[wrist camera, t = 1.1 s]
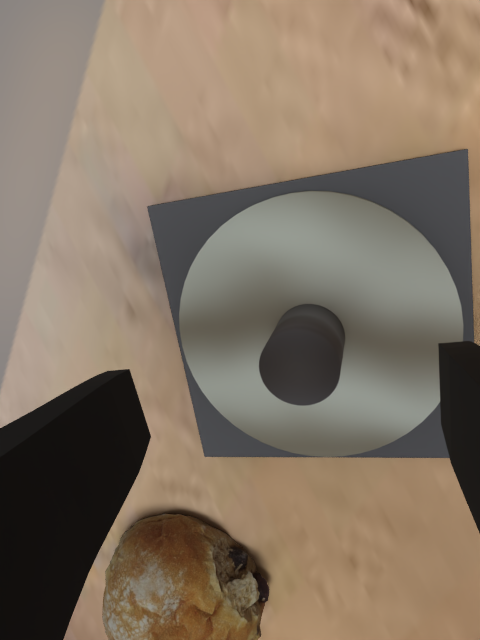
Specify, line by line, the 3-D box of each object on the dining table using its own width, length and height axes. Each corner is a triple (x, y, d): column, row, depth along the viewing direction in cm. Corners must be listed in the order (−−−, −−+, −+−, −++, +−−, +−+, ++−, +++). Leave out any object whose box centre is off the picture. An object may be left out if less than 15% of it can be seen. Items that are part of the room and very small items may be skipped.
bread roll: (167, 462, 32) (62, 527, 27) (287, 539, 26) (183, 645, 20) (171, 568, 36) (78, 646, 30) (278, 658, 30) (187, 778, 24)
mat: (475, 451, 22) (477, 457, 22) (207, 451, 27) (204, 456, 26) (465, 149, 18) (468, 148, 18) (151, 205, 23) (147, 206, 22)
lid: (466, 449, 22) (486, 512, 18) (211, 448, 26) (182, 501, 22) (454, 164, 18) (476, 167, 14) (159, 215, 22) (113, 227, 18)
